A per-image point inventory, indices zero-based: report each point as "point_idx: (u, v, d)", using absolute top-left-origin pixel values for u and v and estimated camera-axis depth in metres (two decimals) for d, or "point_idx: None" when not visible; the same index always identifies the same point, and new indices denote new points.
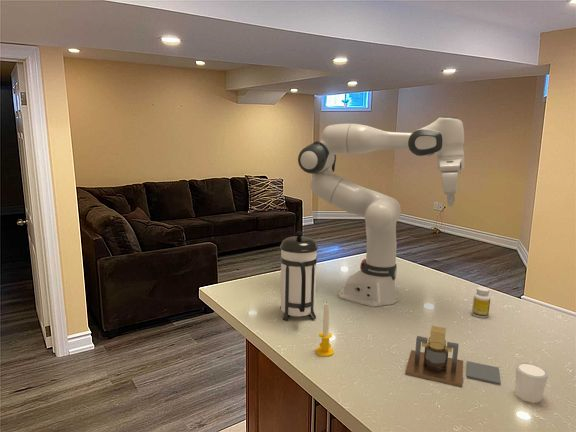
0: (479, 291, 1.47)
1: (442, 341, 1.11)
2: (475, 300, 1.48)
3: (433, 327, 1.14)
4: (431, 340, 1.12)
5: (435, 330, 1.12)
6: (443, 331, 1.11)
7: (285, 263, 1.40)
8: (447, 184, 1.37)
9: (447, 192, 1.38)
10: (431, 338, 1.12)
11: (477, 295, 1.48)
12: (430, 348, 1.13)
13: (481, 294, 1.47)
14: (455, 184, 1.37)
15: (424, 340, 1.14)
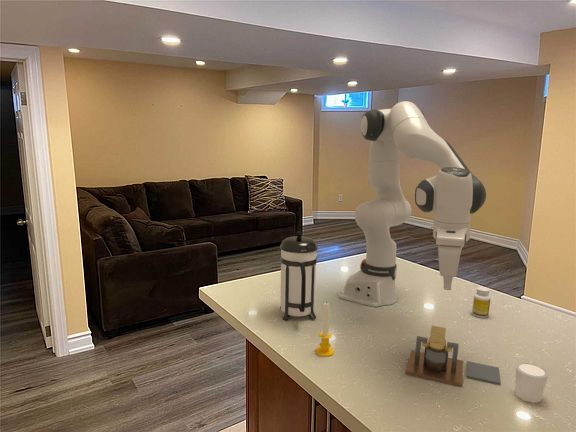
0: (479, 291, 1.47)
1: (442, 341, 1.11)
2: (475, 300, 1.48)
3: (433, 327, 1.14)
4: (431, 340, 1.12)
5: (435, 330, 1.12)
6: (443, 331, 1.11)
7: (285, 263, 1.40)
8: (446, 264, 1.00)
9: (444, 274, 1.01)
10: (431, 338, 1.12)
11: (477, 295, 1.48)
12: (430, 348, 1.13)
13: (481, 294, 1.47)
14: (456, 265, 1.00)
15: (424, 340, 1.14)
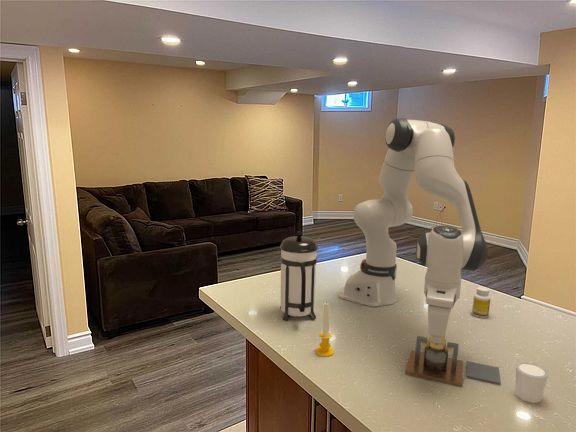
0: (479, 291, 1.47)
1: (442, 341, 1.11)
2: (475, 300, 1.48)
3: None
4: (431, 340, 1.12)
5: None
6: None
7: (285, 263, 1.40)
8: (435, 325, 1.03)
9: (433, 334, 1.03)
10: (431, 338, 1.12)
11: (477, 295, 1.48)
12: (430, 348, 1.13)
13: (481, 294, 1.47)
14: (445, 326, 1.02)
15: (424, 340, 1.14)
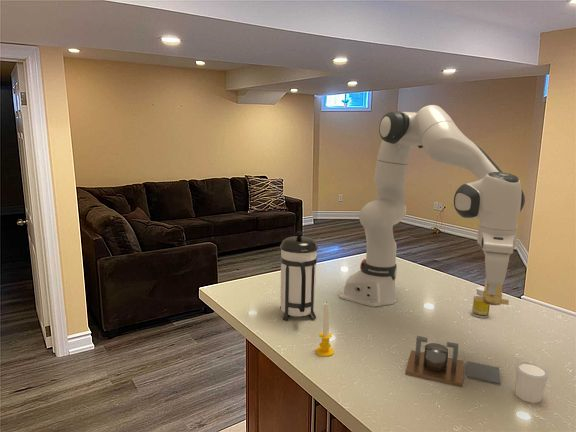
0: (479, 291, 1.47)
1: (499, 293, 1.06)
2: (475, 300, 1.48)
3: None
4: (487, 293, 1.07)
5: None
6: None
7: (285, 263, 1.40)
8: (493, 271, 0.98)
9: (491, 282, 0.99)
10: (487, 290, 1.07)
11: (477, 295, 1.48)
12: (486, 301, 1.08)
13: (481, 294, 1.47)
14: (504, 273, 0.97)
15: (424, 340, 1.14)
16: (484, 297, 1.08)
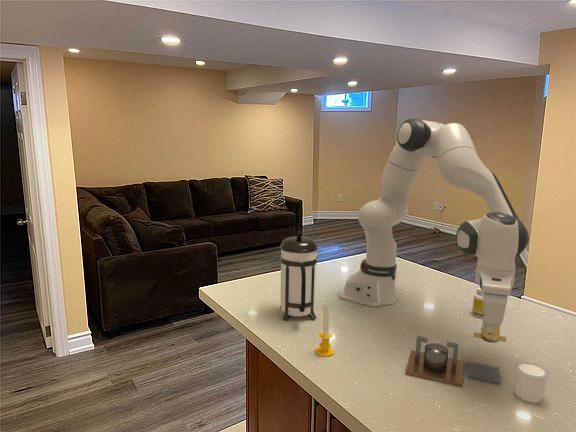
0: (479, 291, 1.47)
1: (497, 330, 1.08)
2: (475, 300, 1.48)
3: None
4: (485, 330, 1.09)
5: None
6: None
7: (285, 263, 1.40)
8: (491, 313, 1.00)
9: (489, 323, 1.01)
10: (485, 328, 1.09)
11: (477, 295, 1.48)
12: (484, 338, 1.10)
13: (481, 294, 1.47)
14: (502, 314, 0.99)
15: (424, 340, 1.14)
16: (482, 334, 1.10)
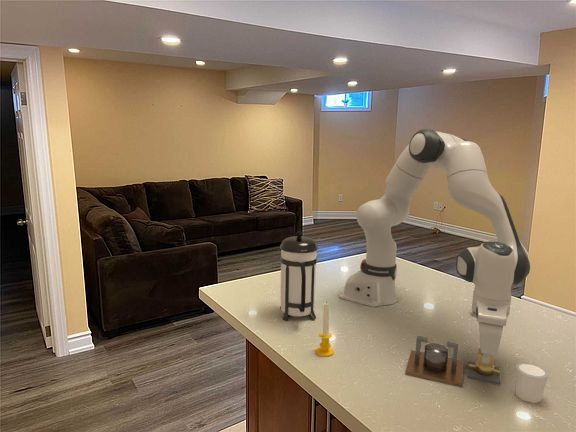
0: None
1: (490, 365, 1.10)
2: None
3: None
4: (479, 363, 1.11)
5: None
6: None
7: (285, 263, 1.40)
8: (487, 343, 1.02)
9: (485, 352, 1.02)
10: (479, 361, 1.11)
11: None
12: (478, 371, 1.12)
13: None
14: (497, 344, 1.01)
15: (424, 340, 1.14)
16: (476, 367, 1.12)
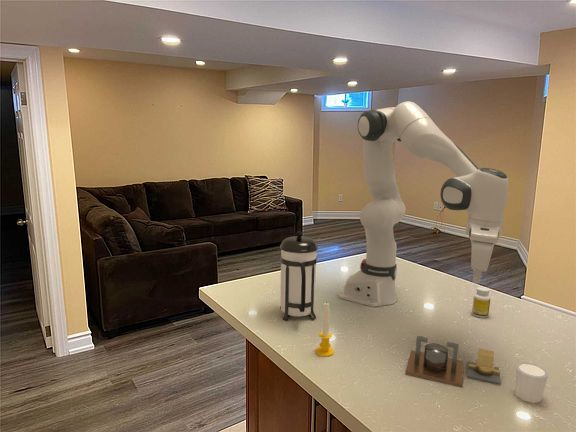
0: (479, 291, 1.47)
1: (490, 365, 1.10)
2: (475, 300, 1.48)
3: (480, 350, 1.13)
4: (479, 363, 1.11)
5: (483, 353, 1.11)
6: (491, 354, 1.11)
7: (285, 263, 1.40)
8: (478, 259, 1.07)
9: (476, 268, 1.08)
10: (479, 361, 1.11)
11: (477, 295, 1.48)
12: (478, 371, 1.12)
13: (480, 294, 1.47)
14: (488, 260, 1.07)
15: (424, 340, 1.14)
16: (476, 367, 1.12)
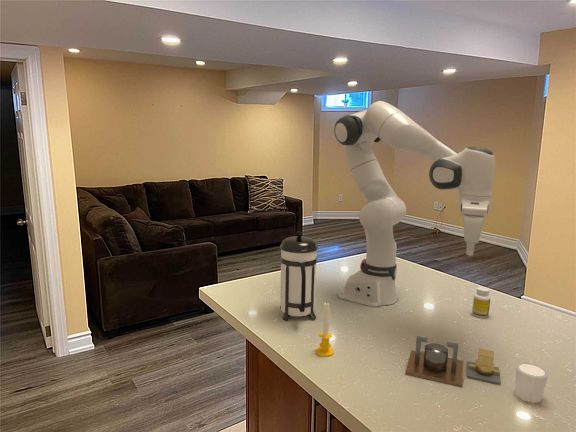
0: (479, 291, 1.47)
1: (490, 365, 1.10)
2: (475, 300, 1.48)
3: (480, 350, 1.13)
4: (479, 363, 1.11)
5: (483, 353, 1.11)
6: (491, 354, 1.11)
7: (285, 263, 1.40)
8: (470, 231, 1.14)
9: (468, 240, 1.14)
10: (479, 361, 1.11)
11: (477, 295, 1.48)
12: (478, 371, 1.12)
13: (481, 294, 1.47)
14: (479, 232, 1.13)
15: (424, 340, 1.14)
16: (476, 367, 1.12)
